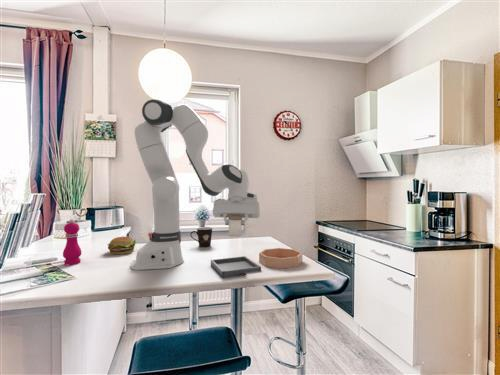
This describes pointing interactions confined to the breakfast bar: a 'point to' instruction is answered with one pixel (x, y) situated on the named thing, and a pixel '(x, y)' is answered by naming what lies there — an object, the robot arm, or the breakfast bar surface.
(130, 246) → the food
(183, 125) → the robot arm
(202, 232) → the coffee mug
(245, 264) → the tray
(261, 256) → the bowl
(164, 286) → the breakfast bar surface
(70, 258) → the pepper mill
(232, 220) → the spice jar
